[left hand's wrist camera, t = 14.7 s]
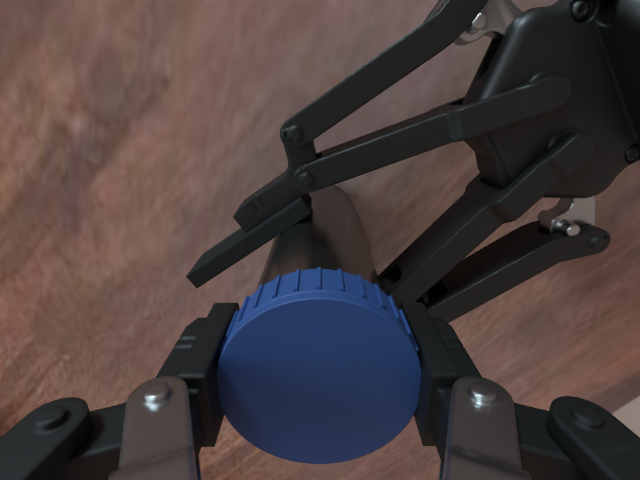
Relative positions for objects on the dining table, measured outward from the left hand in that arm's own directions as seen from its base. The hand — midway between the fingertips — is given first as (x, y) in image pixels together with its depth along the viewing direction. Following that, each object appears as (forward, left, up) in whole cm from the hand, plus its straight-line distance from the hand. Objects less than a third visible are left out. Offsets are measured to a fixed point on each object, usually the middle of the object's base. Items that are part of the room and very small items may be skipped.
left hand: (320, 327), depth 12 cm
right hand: (-5, +3, -6) cm, 8 cm away
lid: (0, 0, +3) cm, 3 cm away
